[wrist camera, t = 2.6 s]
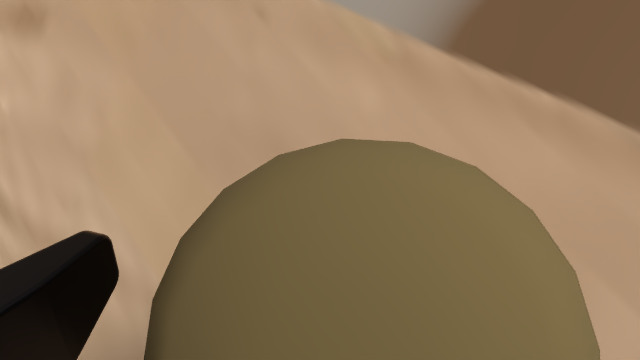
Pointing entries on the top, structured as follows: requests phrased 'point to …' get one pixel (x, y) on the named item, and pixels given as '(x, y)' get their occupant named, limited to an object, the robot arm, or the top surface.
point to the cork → (368, 266)
